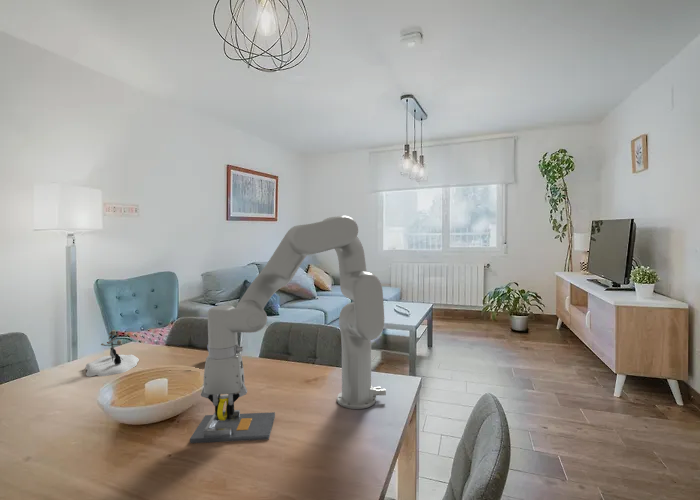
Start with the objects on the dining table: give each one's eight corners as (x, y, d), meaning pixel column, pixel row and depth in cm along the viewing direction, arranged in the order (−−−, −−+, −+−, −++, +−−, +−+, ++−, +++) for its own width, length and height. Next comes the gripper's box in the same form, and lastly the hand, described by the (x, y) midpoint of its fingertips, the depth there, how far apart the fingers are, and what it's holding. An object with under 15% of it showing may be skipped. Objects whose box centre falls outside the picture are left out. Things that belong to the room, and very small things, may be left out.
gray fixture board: (274, 416, 104) (274, 407, 104) (268, 439, 92) (268, 429, 92) (205, 419, 103) (205, 410, 103) (190, 443, 91) (189, 433, 91)
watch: (225, 424, 94) (224, 402, 94) (214, 423, 94) (214, 401, 94) (234, 412, 100) (233, 392, 100) (224, 412, 100) (224, 391, 100)
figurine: (91, 360, 150) (89, 323, 148) (140, 355, 157) (139, 319, 155) (78, 382, 132) (76, 341, 130) (134, 375, 139) (133, 335, 137)
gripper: (255, 346, 101) (256, 409, 102) (198, 348, 100) (199, 412, 100) (250, 355, 93) (251, 423, 94) (188, 357, 92) (190, 426, 93)
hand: (224, 416), depth 97 cm, fingers closed on watch, 2 cm apart
